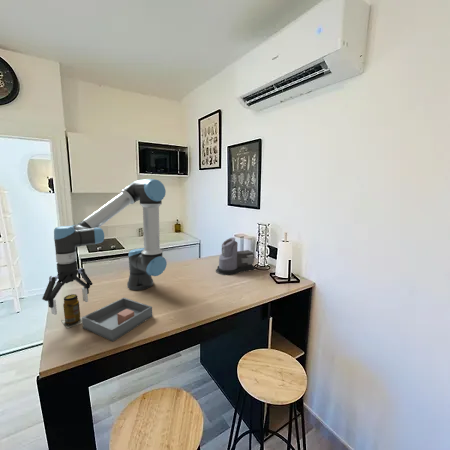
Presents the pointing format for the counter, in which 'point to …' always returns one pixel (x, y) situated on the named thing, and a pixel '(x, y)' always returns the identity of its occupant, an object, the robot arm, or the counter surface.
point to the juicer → (234, 259)
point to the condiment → (71, 311)
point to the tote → (108, 323)
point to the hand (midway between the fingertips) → (70, 307)
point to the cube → (124, 315)
